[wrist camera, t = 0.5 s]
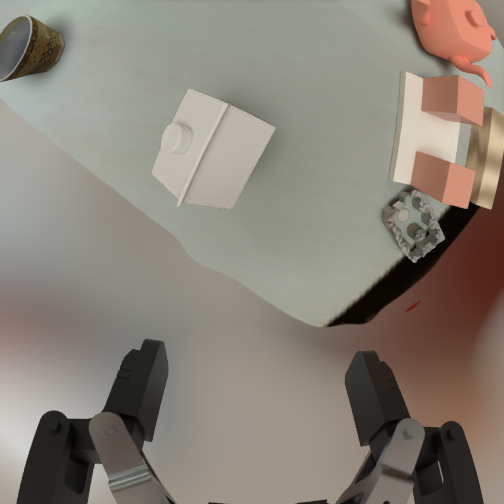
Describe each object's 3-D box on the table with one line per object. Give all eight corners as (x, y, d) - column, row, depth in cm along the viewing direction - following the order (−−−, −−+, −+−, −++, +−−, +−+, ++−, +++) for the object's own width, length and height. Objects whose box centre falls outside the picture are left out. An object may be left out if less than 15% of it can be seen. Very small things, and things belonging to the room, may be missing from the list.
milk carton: (266, 124, 31) (282, 129, 15) (240, 172, 34) (227, 230, 17) (214, 100, 30) (172, 81, 13) (190, 150, 33) (129, 185, 16)
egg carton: (374, 211, 37) (385, 221, 33) (410, 181, 35) (424, 188, 31) (403, 258, 40) (414, 270, 37) (435, 230, 38) (448, 241, 34)
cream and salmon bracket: (400, 72, 27) (439, 65, 18) (456, 96, 27) (497, 99, 19) (388, 178, 34) (423, 198, 26) (442, 190, 35) (480, 212, 26)
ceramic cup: (67, 14, 21) (29, 1, 12) (77, 57, 25) (35, 49, 16) (16, 60, 23) (-23, 60, 14) (24, 103, 27) (-18, 109, 18)
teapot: (445, 88, 27) (493, 89, 17) (379, 17, 23) (418, -6, 13) (476, 44, 22) (519, 40, 12) (419, -20, 18) (455, -40, 8)
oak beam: (472, 105, 28) (492, 107, 23) (487, 114, 28) (506, 118, 23) (458, 194, 35) (476, 204, 30) (473, 199, 35) (491, 209, 31)
